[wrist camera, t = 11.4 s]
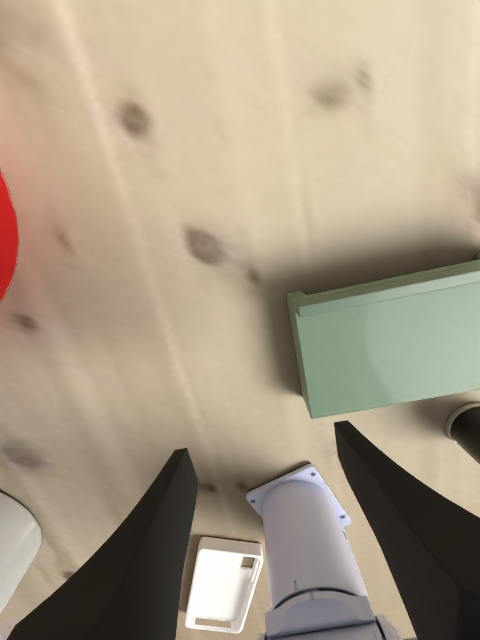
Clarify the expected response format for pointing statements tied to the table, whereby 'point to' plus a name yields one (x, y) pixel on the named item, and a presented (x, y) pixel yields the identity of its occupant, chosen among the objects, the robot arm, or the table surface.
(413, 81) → the table surface
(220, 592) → the phone case
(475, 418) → the cylinder
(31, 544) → the utensil holder
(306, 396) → the shelf
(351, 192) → the table surface
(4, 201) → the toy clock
